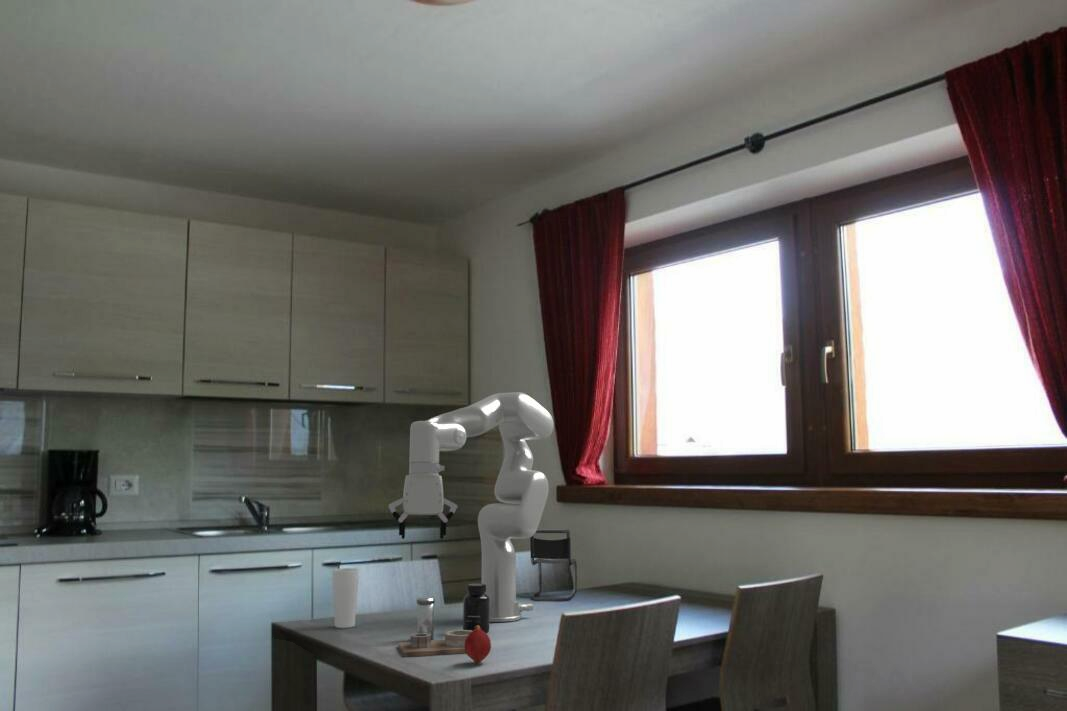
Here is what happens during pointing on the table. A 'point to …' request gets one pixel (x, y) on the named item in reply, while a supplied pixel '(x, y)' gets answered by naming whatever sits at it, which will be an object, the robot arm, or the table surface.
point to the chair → (552, 551)
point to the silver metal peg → (425, 615)
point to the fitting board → (434, 644)
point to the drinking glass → (345, 596)
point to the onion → (477, 645)
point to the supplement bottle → (476, 608)
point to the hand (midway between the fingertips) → (422, 538)
